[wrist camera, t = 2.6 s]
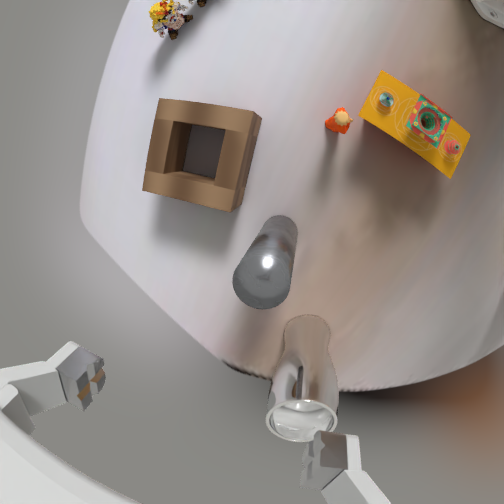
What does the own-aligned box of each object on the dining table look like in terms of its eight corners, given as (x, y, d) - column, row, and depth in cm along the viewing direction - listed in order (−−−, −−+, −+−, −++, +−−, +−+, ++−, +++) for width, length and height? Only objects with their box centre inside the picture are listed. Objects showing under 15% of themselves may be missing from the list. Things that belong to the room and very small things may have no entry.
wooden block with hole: (261, 118, 30) (253, 111, 25) (241, 204, 33) (230, 212, 28) (179, 104, 30) (159, 98, 26) (163, 185, 34) (142, 190, 29)
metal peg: (301, 220, 32) (297, 265, 19) (292, 253, 34) (281, 315, 21) (267, 211, 33) (239, 249, 20) (258, 244, 34) (227, 299, 21)
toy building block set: (513, 281, 29) (568, 329, 16) (316, 137, 29) (324, 121, 16) (549, 210, 24) (611, 237, 11) (363, 48, 25) (393, -12, 12)
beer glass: (306, 301, 35) (301, 386, 21) (344, 332, 36) (355, 421, 22) (269, 334, 38) (247, 421, 24) (307, 362, 38) (301, 450, 24)
